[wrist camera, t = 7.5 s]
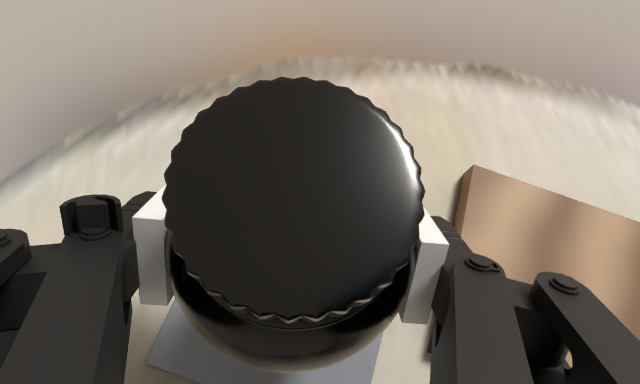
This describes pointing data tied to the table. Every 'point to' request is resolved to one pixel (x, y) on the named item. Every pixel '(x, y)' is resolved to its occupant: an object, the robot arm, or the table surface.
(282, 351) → the supplement bottle
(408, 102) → the table surface
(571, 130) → the table surface
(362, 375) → the gray card
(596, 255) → the walnut board
